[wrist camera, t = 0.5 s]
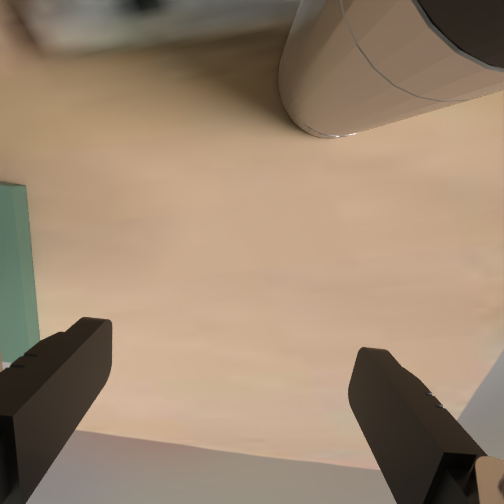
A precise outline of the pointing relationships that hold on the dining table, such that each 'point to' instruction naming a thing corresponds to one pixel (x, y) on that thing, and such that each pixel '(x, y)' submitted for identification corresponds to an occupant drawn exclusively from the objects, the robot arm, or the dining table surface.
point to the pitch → (16, 277)
